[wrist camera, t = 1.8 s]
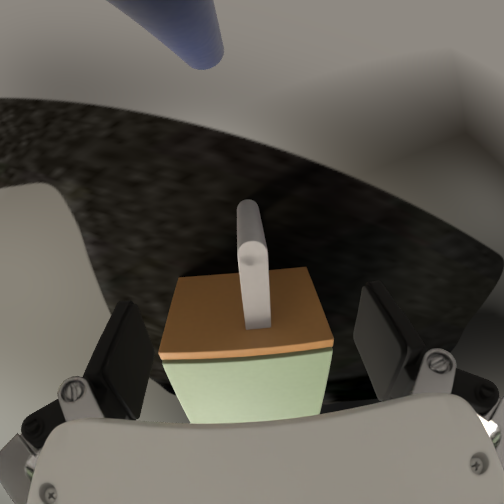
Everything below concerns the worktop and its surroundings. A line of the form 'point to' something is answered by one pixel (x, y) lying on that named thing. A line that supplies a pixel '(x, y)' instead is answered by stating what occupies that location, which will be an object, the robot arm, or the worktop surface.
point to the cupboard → (251, 386)
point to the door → (245, 306)
